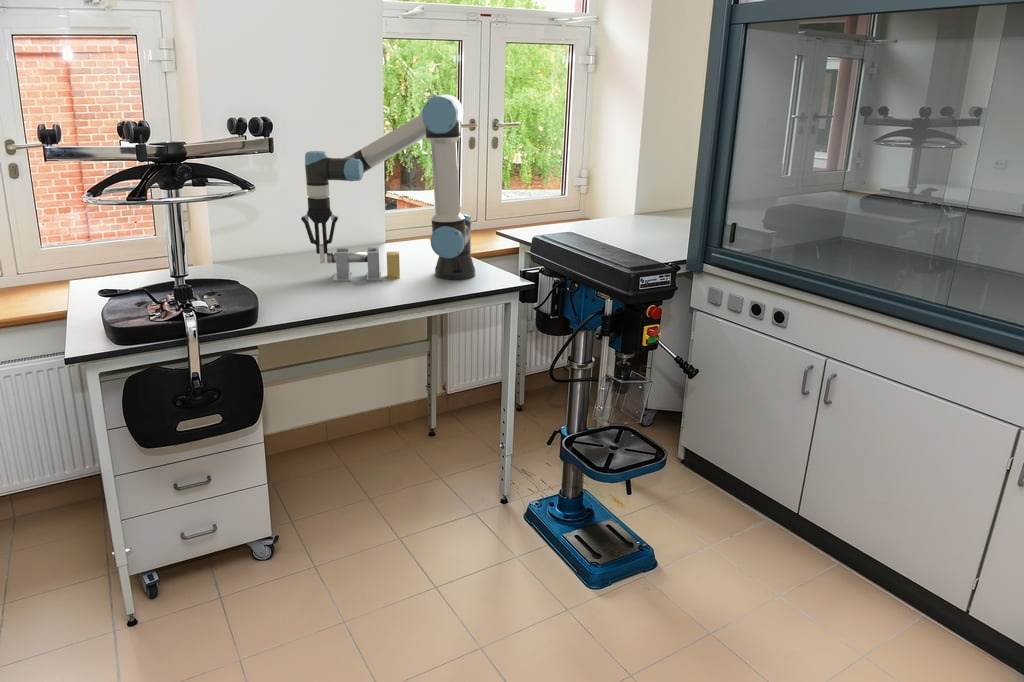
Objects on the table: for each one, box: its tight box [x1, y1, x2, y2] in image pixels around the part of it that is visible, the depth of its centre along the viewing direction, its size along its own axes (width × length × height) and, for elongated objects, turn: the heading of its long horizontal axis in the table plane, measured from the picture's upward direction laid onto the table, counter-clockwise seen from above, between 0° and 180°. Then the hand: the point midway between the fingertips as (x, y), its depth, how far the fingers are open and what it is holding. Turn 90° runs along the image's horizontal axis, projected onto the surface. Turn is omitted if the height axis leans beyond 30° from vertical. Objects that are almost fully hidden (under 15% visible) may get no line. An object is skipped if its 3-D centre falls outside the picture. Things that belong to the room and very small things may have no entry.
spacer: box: [386, 251, 401, 280], centre depth 270 cm, size 4×4×9 cm
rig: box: [332, 246, 382, 283], centre depth 268 cm, size 17×10×10 cm, turn 99°
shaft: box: [326, 251, 368, 264], centre depth 267 cm, size 16×4×4 cm, turn 99°
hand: (322, 262), depth 266 cm, fingers closed
